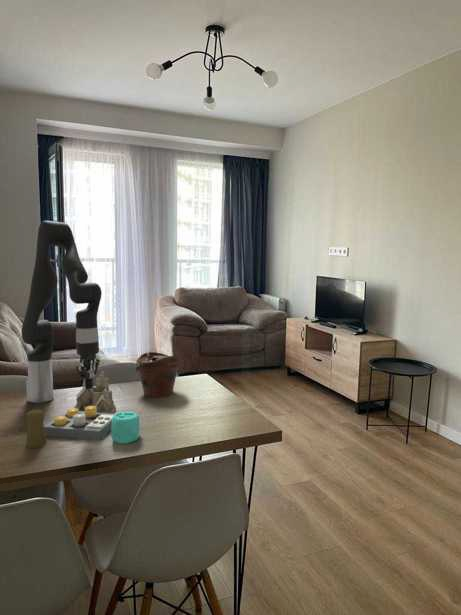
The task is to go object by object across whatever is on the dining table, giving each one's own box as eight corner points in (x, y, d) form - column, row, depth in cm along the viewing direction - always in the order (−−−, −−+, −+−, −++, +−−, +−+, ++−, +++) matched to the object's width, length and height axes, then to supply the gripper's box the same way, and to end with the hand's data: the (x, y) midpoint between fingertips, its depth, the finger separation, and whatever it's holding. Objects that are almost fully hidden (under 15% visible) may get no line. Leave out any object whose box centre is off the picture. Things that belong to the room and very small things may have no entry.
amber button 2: (64, 419, 160) (64, 411, 160) (70, 415, 164) (70, 407, 164) (75, 420, 160) (74, 412, 159) (80, 416, 163) (80, 408, 163)
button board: (43, 435, 151) (43, 424, 151) (68, 418, 167) (68, 408, 166) (99, 440, 148) (98, 429, 147) (119, 422, 163) (119, 412, 163)
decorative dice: (136, 443, 145) (136, 419, 144) (111, 444, 145) (110, 420, 144) (139, 433, 153) (139, 411, 152) (115, 434, 153) (115, 411, 152)
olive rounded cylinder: (30, 440, 147) (28, 407, 146) (49, 439, 148) (47, 407, 146) (23, 448, 141) (21, 414, 140) (43, 447, 142) (41, 414, 140)
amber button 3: (82, 417, 159) (82, 409, 158) (88, 413, 163) (88, 405, 162) (93, 418, 158) (93, 410, 158) (98, 414, 162) (98, 406, 162)
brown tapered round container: (142, 385, 208) (142, 347, 206) (184, 387, 206) (184, 349, 203) (128, 398, 191) (127, 356, 188) (174, 400, 188) (174, 359, 186)
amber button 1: (52, 428, 152) (51, 419, 152) (58, 424, 156) (58, 415, 156) (63, 429, 152) (62, 420, 151) (69, 424, 156) (69, 416, 155)
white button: (71, 425, 151) (70, 417, 151) (77, 421, 155) (76, 413, 155) (82, 426, 150) (81, 418, 150) (88, 422, 154) (87, 414, 154)
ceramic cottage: (77, 404, 181) (76, 369, 178) (118, 405, 183) (119, 369, 180) (67, 421, 166) (67, 383, 163) (113, 421, 168) (113, 383, 165)
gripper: (86, 336, 164) (88, 382, 166) (67, 343, 151) (69, 393, 153) (106, 337, 163) (107, 383, 165) (88, 344, 150) (90, 394, 152)
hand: (89, 388), depth 159 cm, fingers closed
